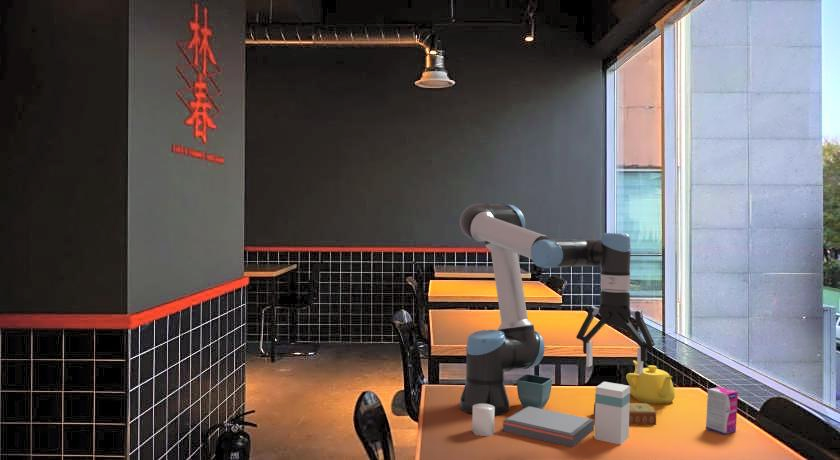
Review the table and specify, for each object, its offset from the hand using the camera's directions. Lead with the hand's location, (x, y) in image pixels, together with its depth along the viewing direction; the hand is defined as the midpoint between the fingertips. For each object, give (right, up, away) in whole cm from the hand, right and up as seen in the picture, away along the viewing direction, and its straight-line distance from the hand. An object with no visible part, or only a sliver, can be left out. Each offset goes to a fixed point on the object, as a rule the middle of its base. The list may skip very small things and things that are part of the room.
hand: (614, 369), depth 167 cm
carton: (+8, -19, +17) cm, 26 cm away
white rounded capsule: (-35, -18, +4) cm, 39 cm away
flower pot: (-17, -18, +26) cm, 36 cm away
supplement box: (+33, -19, +8) cm, 39 cm away
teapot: (+23, -18, +38) cm, 48 cm away
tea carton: (0, -19, +1) cm, 19 cm away
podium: (-16, -18, +6) cm, 25 cm away
